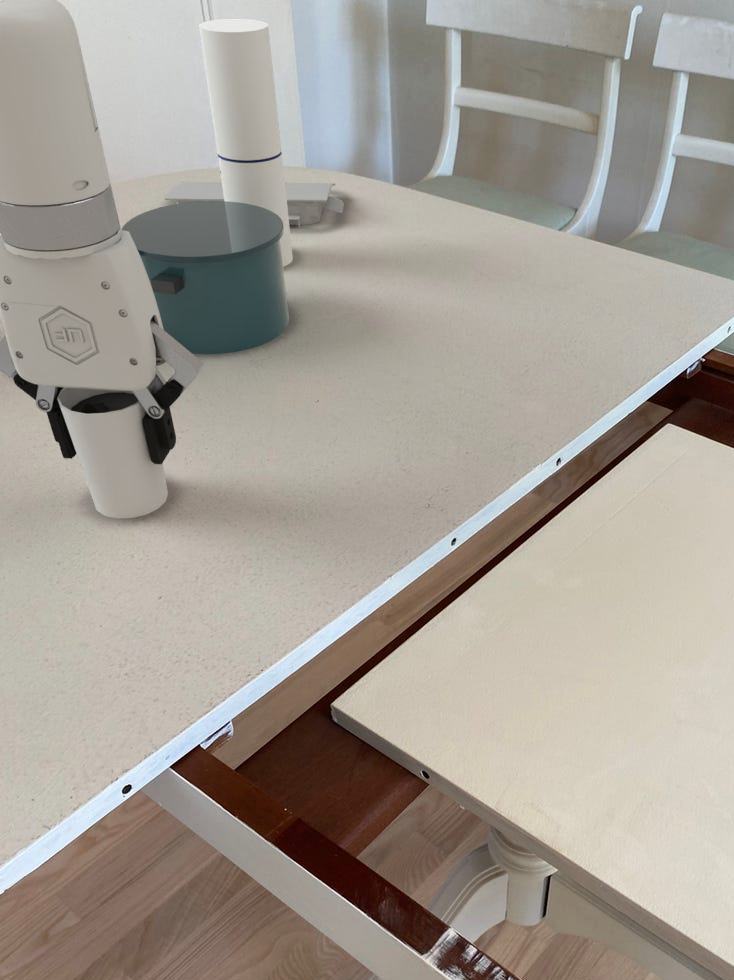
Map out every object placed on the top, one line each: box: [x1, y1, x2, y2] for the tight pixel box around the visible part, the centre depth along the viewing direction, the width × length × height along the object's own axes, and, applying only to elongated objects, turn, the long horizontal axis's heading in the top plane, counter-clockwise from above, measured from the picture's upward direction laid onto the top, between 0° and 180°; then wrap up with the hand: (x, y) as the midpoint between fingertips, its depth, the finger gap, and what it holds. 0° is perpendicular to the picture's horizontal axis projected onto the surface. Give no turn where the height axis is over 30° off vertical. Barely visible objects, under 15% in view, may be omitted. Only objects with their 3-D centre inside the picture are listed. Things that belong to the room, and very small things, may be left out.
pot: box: [121, 201, 290, 355], centre depth 101 cm, size 16×19×11 cm
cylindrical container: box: [198, 18, 294, 268], centre depth 110 cm, size 7×7×25 cm
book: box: [164, 181, 345, 230], centre depth 130 cm, size 15×23×4 cm, turn 92°
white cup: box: [57, 387, 169, 520], centre depth 76 cm, size 7×7×10 cm
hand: (118, 450), depth 76 cm, fingers open, 6 cm apart
